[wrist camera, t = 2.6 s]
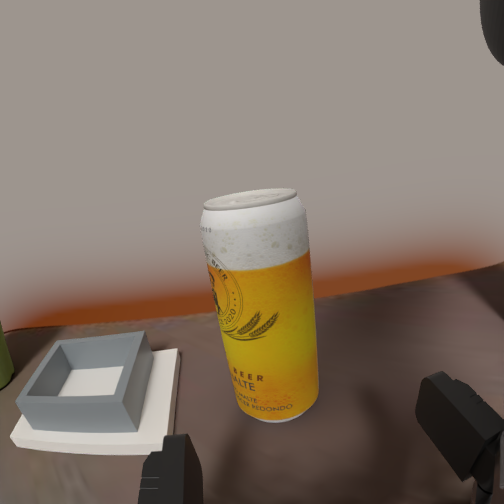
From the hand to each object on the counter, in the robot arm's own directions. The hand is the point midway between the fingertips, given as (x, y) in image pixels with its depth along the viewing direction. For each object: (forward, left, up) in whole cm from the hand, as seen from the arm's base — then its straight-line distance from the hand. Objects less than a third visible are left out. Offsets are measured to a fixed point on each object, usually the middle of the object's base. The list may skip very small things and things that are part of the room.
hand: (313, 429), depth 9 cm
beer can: (0, -11, -9) cm, 15 cm away
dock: (+15, -13, -9) cm, 22 cm away
